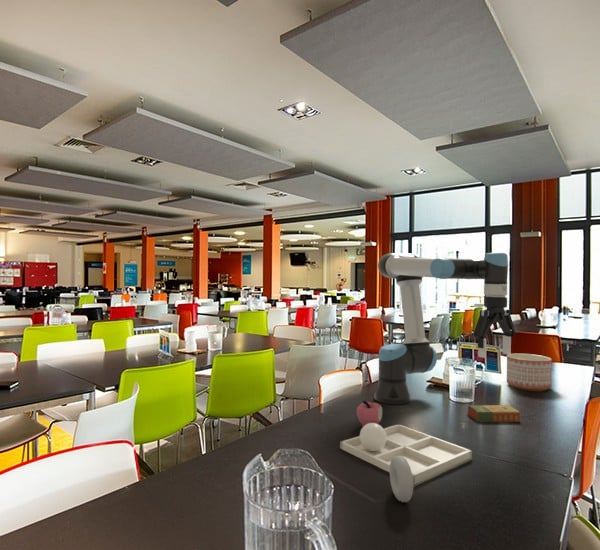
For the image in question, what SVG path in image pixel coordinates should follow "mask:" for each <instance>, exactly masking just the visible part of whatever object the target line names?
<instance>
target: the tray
mask: <svg viewBox="0 0 600 550" xmlns="http://www.w3.org/2000/svg"><path fill="white" fill-rule="evenodd" d="M383 429H384V430H385V432H386V435H387V441H386V444H385V446H384V447H383V448H382V449H381V450H379V451H375V452H373V451H369V450H367V449H366V448H364V446H363V445H362V443H361V441H360V435H358V436H355V437H352V438H351V437H350V438H348V439H344V440H341V441H340V442H339V449H340V450H341V451H345V452H347V453H349V454H351V455H353V456H355V457H356V458H359V459H361V460H362V461H365V462H367V463H370V464H371V465H373V466H375V467H377V468H379V469H380V470H383V471H385V472H388V473H389V474H390V463H391V460H392V459H393V457H395V456H398V455H399V456H402V457H404V458H405V459H406V460H407V462H408V464H409V466H410V469H411V472H412V478H413V485H414V484H416V483H418V484H420V483H422V482H421V481H423V482H425V481H427V480H429V479H432V478H433V476H434V477H436V476H438V475H440V474H442V473H445V472H446V471H449V470H452V469H453V468H455V467H458V466H460V465H462V464H464V463H467V462H469V461H471V460H473V451H472V450H471V449H469V448H466V447H463V446H461V445H458V444H455V443H452V442H449V441H447V440H443V439H441V438H438V437H435V436H432V435H430V434H428V433H424V432H421V431H419V430H416V429H414V428H410V427H407V426H405V425H402V424H399V423H397V424H395V425H394V424H393V425H391V426H387V427H384V428H383ZM428 478H429V479H428ZM426 479H427V480H426ZM424 480H425V481H424ZM419 482H420V483H419ZM416 485H417V484H416ZM414 486H415V485H414Z"/></svg>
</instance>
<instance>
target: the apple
mask: <svg viewBox="0 0 600 550" xmlns="http://www.w3.org/2000/svg"><path fill="white" fill-rule="evenodd" d="M356 416H357V418H358V419H357V420H359V422H360V423H361V426H362V428H363V427H364V426H365V425H366V424H369V423H376V424H379V423H380V422H381V420H382V417H383V407H382V405H381V404H379V403H377V402H370V401H366V400H363V401H362V402H361V403H360V404H359V405H358V406H357V408H356ZM379 425H380V424H379Z"/></svg>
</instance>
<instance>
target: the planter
mask: <svg viewBox="0 0 600 550" xmlns="http://www.w3.org/2000/svg"><path fill="white" fill-rule="evenodd" d="M552 361H553V360H552V358H551V357H548V356H544V355H538V354H532V353H511V355H507V354H506V383H507V384H508V385H510V386H511V387H512V386H513V387H512V388H514V387H515V388H514V389H517V388H518V389H517V390H521V389H522V390H521V391H527V390H528V391H529V392H545V391H547V390H549V389H551V388H552V363H553V362H552ZM528 391H527V392H528Z"/></svg>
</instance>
